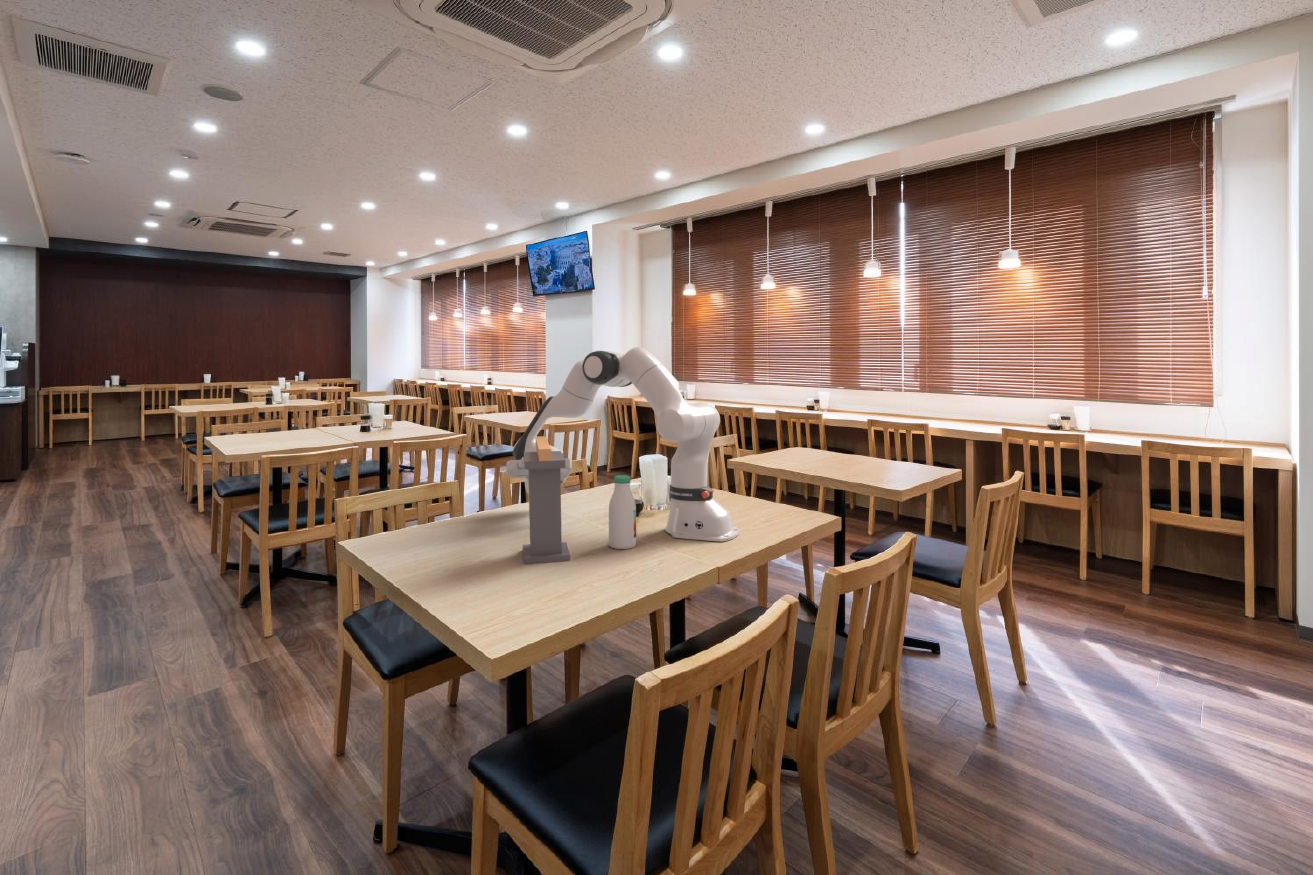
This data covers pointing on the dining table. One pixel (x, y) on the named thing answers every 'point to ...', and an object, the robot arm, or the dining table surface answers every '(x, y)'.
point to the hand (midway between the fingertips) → (540, 458)
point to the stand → (545, 509)
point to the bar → (543, 448)
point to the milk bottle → (622, 515)
